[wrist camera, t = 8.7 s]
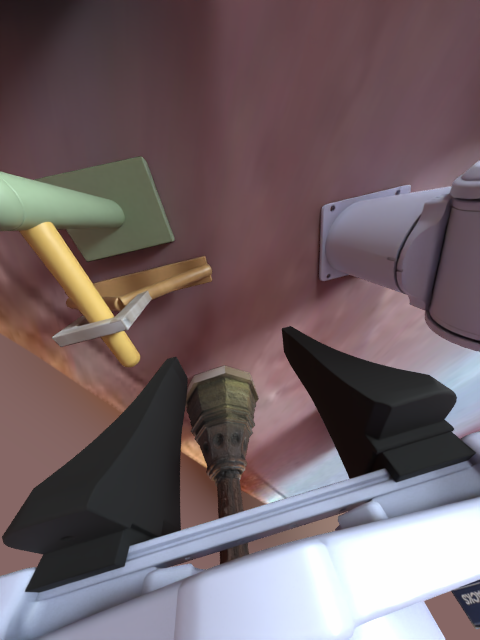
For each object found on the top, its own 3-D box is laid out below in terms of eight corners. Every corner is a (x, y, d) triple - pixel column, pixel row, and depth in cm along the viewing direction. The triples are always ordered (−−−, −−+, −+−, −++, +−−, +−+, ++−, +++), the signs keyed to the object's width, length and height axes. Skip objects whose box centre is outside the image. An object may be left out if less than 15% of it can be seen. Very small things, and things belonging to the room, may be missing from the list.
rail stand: (146, 160, 14) (-14, -6, 4) (197, 300, 20) (186, 375, 10) (46, 182, 14) (-408, 64, 4) (129, 317, 20) (50, 411, 10)
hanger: (207, 254, 17) (207, 281, 9) (214, 278, 18) (219, 320, 10) (67, 289, 16) (-66, 349, 8) (83, 311, 17) (-18, 382, 10)
